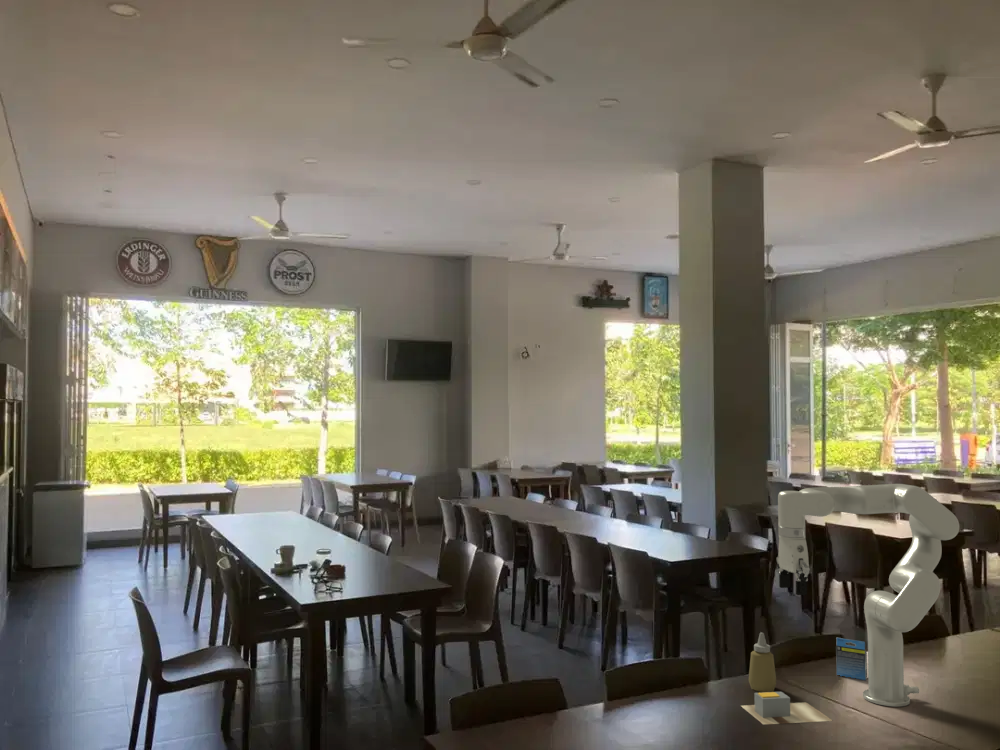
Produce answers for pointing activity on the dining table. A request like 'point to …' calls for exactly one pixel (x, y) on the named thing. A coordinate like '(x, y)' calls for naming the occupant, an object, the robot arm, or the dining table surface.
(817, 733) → the dining table surface
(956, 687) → the dining table surface
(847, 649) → the label tape box
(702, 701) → the dining table surface
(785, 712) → the grey block
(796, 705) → the board
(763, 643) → the squeeze bottle
